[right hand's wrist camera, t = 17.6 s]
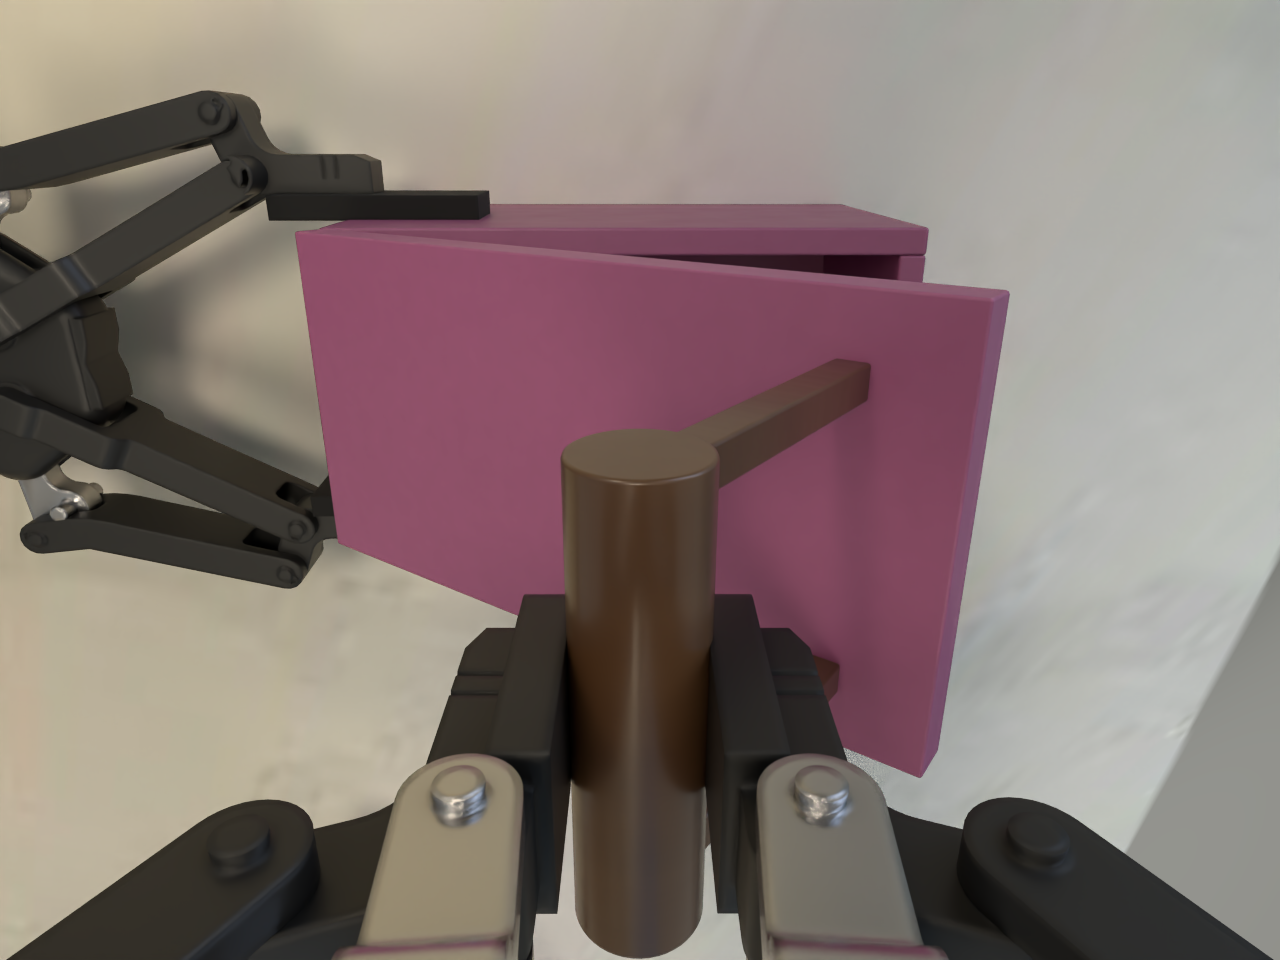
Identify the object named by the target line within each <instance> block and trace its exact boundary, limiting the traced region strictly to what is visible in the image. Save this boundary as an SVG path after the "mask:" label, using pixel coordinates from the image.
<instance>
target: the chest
mask: <svg viewBox="0 0 1280 960" xmlns="http://www.w3.org/2000/svg"><path fill="white" fill-rule="evenodd" d="M320 229H335V230H346V231H357V232H368V233H379V234H390V235H401V236H412V237H423V238H435V239H446V240H457V241H468V242H479V243H490V244H501V245H512V246H523V247H534V248H545V249H556V250H567V251H578V252H589V253H600V254H611V255H622V256H634V257H645V258H656V259H667V260H678V261H689V262H700V263H711V264H722V265H733V266H744V267H755V268H766V269H777V270H788V271H799V272H810V273H821V274H833V275H844V276H855V277H866V278H877V279H888V280H899V281H910V282H921V283H922V281H923V273H924V264H925V256H924V254H925V253H926V248H927V240H928V232H929V230H928V228H926V227H923V226H919V225H915V224H912V223H908V222H904V221H900V220H897V219H893V218H889V217H885V216H882V215H878V214H874V213H871V212H867V211H863V210H859V209H856V208H852V207H848V206H845V205H841V204H490V214H488V215H487V216H485V217H483V218H481V219H480V220H346V221H343V222H339V223H336V224H333V225H329V226H326V227H322V228H320Z"/></svg>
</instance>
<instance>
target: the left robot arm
mask: <svg viewBox="0 0 1280 960" xmlns="http://www.w3.org/2000/svg"><path fill="white" fill-rule="evenodd" d="M260 121H261V114H260V109H259V108H258V106H257V104H256V103H255V102H254V101H253V100H252V99H251V98H250V97H247V96H244V95H241V94H233V93H225V92H217V91H200V92H196V93H192V94H189V95H185V96H182V97H178V98H175V99H171V100H168V101H164V102H161V103H157V104H153V105H150V106H146V107H143V108H139V109H136V110H132V111H129V112H125V113H121V114H118V115H114V116H111V117H107V118H104V119H100V120H97V121H93V122H90V123H86V124H82V125H79V126H75V127H72V128H68V129H65V130H61V131H58V132H54V133H50V134H47V135H43V136H40V137H36V138H33V139H29V140H26V141H22V142H19V143H15V144H11V145H8V146H4V147H3V146H0V222H1V220H2V219H3V218H4V217H5V216H7V215H8V214H13V213H18V212H21V211H22V210H24V208H25V207H26V205H27V202H28V201H29V200H30V199H31V194H32V193H31V191H30V189H35V188H46V187H57V186H62V185H66V184H71V183H74V182H78V181H82V180H85V179H89V178H92V177H96V176H100V175H103V174H107V173H110V172H114V171H118V170H121V169H125V168H128V167H132V166H136V165H139V164H143V163H147V162H150V161H154V160H157V159H161V158H165V157H168V156H172V155H175V154H179V153H183V152H186V151H190V150H193V149H197V148H201V147H204V146H208V145H211V144H212V145H213V147H214V149H215V151H216V153H217V155H218V157H219V159H220V161H221V163H220V164H218V165H216V166H215V167H213V168H211V169H210V170H208V171H207V172H205V173H203V174H202V175H200V176H198V177H197V178H195V179H193V180H192V181H190V182H189V183H187V184H185V185H184V186H182V187H180V188H179V189H177V190H175V191H174V192H172V193H171V194H169V195H167V196H166V197H164V198H162V199H161V200H159V201H158V202H156V203H154V204H153V205H151V206H149V207H148V208H146V209H144V210H143V211H141V212H140V213H138V214H136V215H135V216H133V217H131V218H130V219H128V220H126V221H125V222H123V223H122V224H120V225H118V226H117V227H115V228H113V229H112V230H110V231H108V232H107V233H105V234H104V235H102V236H100V237H99V238H97V239H95V240H94V241H92V242H90V243H89V244H87V245H86V246H84V247H82V248H81V249H79V250H77V251H76V252H74V253H72V254H70V255H68V256H66V257H63V258H61V259H58V260H56V261H54V262H52V263H50V262H48V261H47V260H45V259H44V258H42V257H40V256H39V255H37V254H35V253H34V252H32V251H31V250H29V249H27V248H26V247H24V246H22V245H21V244H19V243H18V242H16V241H14V240H13V239H11V238H9V237H8V236H6V235H4V234H2V233H0V474H1V475H3V476H5V477H7V478H11V479H15V480H18V481H19V483H20V486H21V488H22V491H23V494H24V496H25V499H26V501H27V504H28V506H29V509H30V511H31V514H32V517H33V520H32V521H31V522H29V523H28V524H26V525H25V526H24V527H23V528H22V529H21V532H20V538H21V541H22V543H23V544H24V546H25V547H27V548H28V549H29V550H30V551H33V552H35V553H43V554H44V553H54V552H64V551H74V550H83V549H93V550H98V551H103V552H108V553H113V554H118V555H122V556H127V557H132V558H137V559H142V560H147V561H152V562H157V563H162V564H167V565H172V566H177V567H182V568H187V569H192V570H196V571H201V572H206V573H211V574H216V575H221V576H226V577H231V578H236V579H241V580H246V581H251V582H256V583H261V584H266V585H270V586H275V587H280V588H289V589H291V588H294V587H297V586H298V585H299V584H300V583H301V582H302V581H303V579H304V578H305V576H306V575H307V573H308V572H309V571H310V569H311V568H312V566H313V565H314V563H315V562H316V561H317V559H318V558H319V556H320V555H321V554H322V551H323V540H325V539H330V538H337V531H336V523H335V516H334V509H333V502H332V495H331V488H330V480H329V475H328V477H327V478H326V479H325V480H324V481H323V482H322V484H321V485H320V486H319V487H317V486H314V485H312V484H310V483H308V482H305V481H303V480H301V479H299V478H296V477H294V476H292V475H290V474H288V473H285V472H283V471H281V470H279V469H276V468H274V467H272V466H270V465H267V464H265V463H263V462H261V461H258V460H256V459H254V458H252V457H250V456H247V455H245V454H243V453H241V452H238V451H236V450H234V449H232V448H229V447H227V446H225V445H223V444H220V443H218V442H216V441H214V440H212V439H209V438H207V437H205V436H203V435H200V434H198V433H196V432H194V431H191V430H189V429H187V428H185V427H182V426H180V425H178V424H176V423H173V422H171V421H169V420H167V419H166V418H165V417H164V415H163V412H162V411H161V410H159V409H157V408H155V407H153V406H151V405H149V404H147V403H144V402H142V401H140V400H138V399H135V398H133V397H131V396H130V395H132V394H133V391H132V386H131V381H130V377H129V373H128V371H127V369H126V367H125V365H124V363H123V361H122V359H121V357H120V355H119V353H118V339H119V327H118V322H117V318H116V313H115V309H114V308H107V307H106V305H105V304H104V302H103V301H102V299H104V298H106V297H107V296H109V295H111V294H112V293H114V292H116V291H117V290H119V289H121V288H122V287H124V286H126V285H127V284H129V283H131V282H132V281H134V280H135V278H136V277H137V276H139V275H140V274H142V273H144V272H145V271H147V270H149V269H150V268H152V267H154V266H155V265H157V264H159V263H160V262H162V261H164V260H165V259H167V258H169V257H170V256H172V255H174V254H175V253H177V252H179V251H180V250H182V249H184V248H185V247H187V246H189V245H190V244H192V243H194V242H195V241H197V240H199V239H201V238H202V237H204V236H206V235H207V234H209V233H211V232H212V231H214V230H216V229H217V228H219V227H221V226H222V225H224V224H226V223H227V222H229V221H231V220H232V219H234V218H236V217H237V216H239V215H241V214H242V213H244V212H246V211H247V210H249V209H251V208H252V207H254V206H256V205H257V204H259V203H261V202H262V201H264V200H266V204H267V210H268V217H269V221H346V220H480V219H481V218H483V217H485V216H487V215H488V214H490V198H489V191H384V185H383V175H382V165H381V161H380V160H378V159H375V158H373V157H371V156H368V155H366V154H289V153H285V152H282V151H280V150H279V149H277V148H276V147H275V146H274V145H273V144H272V143H271V142H270V140H269V139H268V137H267V135H266V133H265V131H264V129H263V127H262V125H261V123H260ZM71 456H72V457H74V458H77V459H79V460H81V461H84V462H86V463H88V464H91V465H93V466H95V467H98V468H101V469H108V470H109V469H121V470H124V471H127V472H129V473H132V474H134V475H136V476H138V477H141V478H143V479H145V480H148V481H150V482H152V483H155V484H157V485H159V486H162V487H164V488H166V489H169V490H171V491H173V492H176V493H178V494H180V495H183V496H185V497H187V498H189V499H192V500H194V501H196V502H199V503H201V504H203V505H206V506H208V507H210V508H213V509H215V510H217V511H220V512H222V513H218V512H213V511H208V510H204V509H199V508H194V507H189V506H185V505H180V504H175V503H170V502H166V501H161V500H156V499H151V498H147V497H142V496H136V495H130V494H119V493H109V494H103V489H102V487H101V486H100V485H99V484H97V483H90V484H88V483H84V482H78V481H74V480H71V479H70V478H68V477H67V476H66V475H65V474H64V473H63V472H62V470H61V468H60V465H61V464H63V463H64V462H65V461H66V460H68V459H69V458H70V457H71ZM223 513H224V514H223Z"/></svg>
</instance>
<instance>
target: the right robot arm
mask: <svg viewBox="0 0 1280 960" xmlns="http://www.w3.org/2000/svg"><path fill="white" fill-rule="evenodd" d="M570 787H571V756H570V727H569V699H568V670H567V642H566V613H565V594H524V596H523V599H522V603H521V607H520V611H519V614H518V618H517V622H516V626H515V628H486V629H485V630H484V631H483V632H482V633H481V634H480V635H479V636H478V637H477V638H476V639H474V640H473V641H472V642H471V643H470V644H469V645H468V646H467V647H466V648H465V651H464V654H463V657H462V660H461V662H460V665H459V668H458V674H457V676H456V677H455V680H454V683H453V686H452V689H451V695H449V698H448V701H447V704H446V707H445V710H444V713H443V716H442V719H441V722H440V724H439V727H438V730H437V733H436V736H435V739H434V742H433V745H432V748H431V751H430V754H429V757H428V760H427V763H426V765H425V766H423V767H421V768H420V769H418V770H417V771H415V772H414V773H413V774H412V775H411V776H409V777H408V779H407V780H406V781H405V782H404V783H403V784H402V786H401V787H400V789H399V790H398V793H397V795H396V798H395V801H394V803H392V804H391V805H389V806H387V807H385V808H383V809H381V810H380V811H377V812H375V813H372V814H370V815H367V816H364V817H360V818H357V819H354V820H349V821H345V822H341V823H337V824H333V825H329V826H325V827H321V828H316V829H313V823H312V821H311V819H310V817H309V815H308V814H307V813H306V812H305V811H304V810H303V809H301V808H300V807H298V806H297V805H294V804H292V803H289V802H285V801H280V800H255V801H250V802H244V803H241V804H237V805H234V806H231V807H228V808H226V809H223V810H221V811H219V812H217V813H215V814H213V815H211V816H209V817H207V818H206V819H204V820H202V821H201V822H199V823H198V824H196V825H195V826H193V827H192V828H191V829H189V830H188V831H186V832H185V833H184V834H182V835H181V836H179V837H178V838H177V839H175V840H174V841H172V842H171V843H170V844H168V845H167V846H165V847H164V848H163V849H161V850H160V851H158V852H157V853H156V854H154V855H153V856H151V857H150V858H149V859H147V860H146V861H144V862H143V863H142V864H140V865H139V866H137V867H136V868H135V869H133V870H132V871H130V872H129V873H128V874H126V875H125V876H123V877H122V878H121V879H119V880H118V881H116V882H115V883H114V884H112V885H111V886H109V887H108V888H106V889H105V890H104V891H102V892H101V893H99V894H98V895H97V896H95V897H94V898H92V899H91V900H90V901H88V902H87V903H85V904H84V905H83V906H81V907H80V908H78V909H77V910H76V911H74V912H73V913H71V914H70V915H69V916H67V917H66V918H64V919H63V920H62V921H60V922H59V923H57V924H56V925H55V926H53V927H52V928H50V929H49V930H48V931H46V932H45V933H43V934H42V935H41V936H39V937H38V938H36V939H35V940H34V941H32V942H31V943H29V944H28V945H27V946H25V947H24V948H22V949H21V950H20V951H18V952H17V953H15V954H14V955H12V956H11V957H10V958H8V959H7V960H534V951H533V933H534V925H535V918H536V914H557V911H558V901H559V892H560V882H561V873H562V863H563V854H564V844H565V835H566V825H567V816H568V806H569V797H570ZM705 791H706V801H707V811H708V821H709V831H710V842H711V852H712V862H713V872H714V882H715V893H716V903H717V913H738V914H739V922H740V930H741V938H742V944H743V949H744V952H745V954H746V960H1273V959H1272V958H1270V957H1269V956H1267V955H1266V954H1265V953H1263V952H1262V951H1260V950H1259V949H1258V948H1256V947H1255V946H1253V945H1252V944H1251V943H1249V942H1248V941H1246V940H1245V939H1244V938H1242V937H1241V936H1239V935H1238V934H1237V933H1235V932H1234V931H1232V930H1231V929H1230V928H1228V927H1227V926H1225V925H1224V924H1223V923H1221V922H1220V921H1218V920H1217V919H1216V918H1214V917H1213V916H1211V915H1210V914H1209V913H1207V912H1206V911H1204V910H1203V909H1201V908H1200V907H1199V906H1197V905H1196V904H1195V903H1193V902H1192V901H1190V900H1189V899H1188V898H1186V897H1185V896H1183V895H1182V894H1180V893H1179V892H1178V891H1176V890H1175V889H1173V888H1172V887H1171V886H1169V885H1168V884H1166V883H1165V882H1164V881H1162V880H1161V879H1159V878H1158V877H1157V876H1155V875H1154V874H1152V873H1151V872H1150V871H1148V870H1147V869H1145V868H1144V867H1143V866H1141V865H1140V864H1138V863H1137V862H1136V861H1134V860H1133V859H1131V858H1130V857H1129V856H1127V855H1126V854H1124V853H1123V852H1122V851H1120V850H1119V849H1117V848H1116V847H1115V846H1113V845H1112V844H1110V843H1109V842H1108V841H1106V840H1105V839H1103V838H1102V837H1101V836H1099V835H1098V834H1096V833H1095V832H1094V831H1092V830H1091V829H1089V828H1088V827H1086V826H1085V825H1084V824H1082V823H1081V822H1079V821H1078V820H1076V819H1075V818H1073V817H1072V816H1070V815H1069V814H1067V813H1065V812H1063V811H1061V810H1059V809H1057V808H1054V807H1052V806H1049V805H1047V804H1044V803H1040V802H1037V801H1033V800H1028V799H1023V798H1011V797H1007V798H996V799H991V800H987V801H985V802H982V803H980V804H978V805H977V806H975V807H974V808H973V809H972V810H971V811H970V812H969V813H968V815H967V817H966V819H965V821H964V827H963V829H959V828H955V827H950V826H946V825H942V824H938V823H934V822H930V821H926V820H922V819H918V818H915V817H911V816H908V815H905V814H903V813H900V812H898V811H895V810H893V809H891V808H889V807H887V804H886V800H885V797H884V795H883V792H882V790H881V789H880V787H879V786H878V784H877V783H876V782H875V781H874V780H873V778H872V777H871V776H870V775H868V774H867V773H866V772H865V771H863V770H862V769H860V768H859V767H857V766H855V765H854V764H851V763H849V762H848V761H847V758H846V755H845V752H844V749H843V746H842V743H841V740H840V737H839V734H838V731H837V728H836V725H835V722H834V719H833V716H832V713H831V710H830V706H829V703H828V700H827V697H826V695H824V688H823V685H822V682H821V679H820V676H818V670H817V667H816V664H815V661H814V658H813V655H812V652H811V649H810V647H809V646H808V645H807V644H806V643H804V642H803V641H802V640H801V639H800V638H799V637H798V636H797V635H796V634H795V633H794V632H793V631H792V630H791V629H790V628H760V624H759V620H758V616H757V612H756V608H755V604H754V600H753V596H752V594H715V603H714V629H713V640H712V643H711V645H710V662H709V691H708V719H707V748H706V776H705Z"/></svg>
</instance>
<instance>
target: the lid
mask: <svg viewBox="0 0 1280 960" xmlns="http://www.w3.org/2000/svg"><path fill="white" fill-rule="evenodd" d="M295 236H296V243H297V250H298V258H299V265H300V272H301V279H302V286H303V294H304V301H305V308H306V315H307V322H308V329H309V337H310V344H311V351H312V358H313V365H314V373H315V380H316V387H317V394H318V401H319V408H320V416H321V423H322V430H323V437H324V444H325V452H326V459H327V466H328V473H329V480H330V488H331V495H332V502H333V509H334V516H335V523H336V531H337V538H338V543H339V544H342V545H344V546H347V547H349V548H352V549H354V550H357V551H359V552H362V553H364V554H367V555H369V556H372V557H374V558H377V559H379V560H381V561H384V562H386V563H389V564H391V565H394V566H396V567H399V568H401V569H404V570H406V571H409V572H411V573H414V574H416V575H419V576H421V577H424V578H426V579H428V580H431V581H433V582H436V583H438V584H441V585H443V586H446V587H448V588H451V589H453V590H456V591H458V592H461V593H463V594H466V595H468V596H471V597H473V598H475V599H478V600H480V601H483V602H485V603H488V604H490V605H493V606H495V607H498V608H500V609H503V610H505V611H508V612H510V613H513V614H515V615H518V614H519V611H520V607H521V603H522V599H523V596H524V594H565V613H566V642H567V670H568V699H569V727H570V756H571V792H572V822H573V852H574V882H575V910H576V915H577V919H578V921H579V924H580V926H581V927H582V929H583V931H584V932H585V933H586V935H587V936H588V937H589V938H590V939H591V940H592V941H593V942H594V943H595V944H596V945H598V946H599V947H600V948H602V949H604V950H606V951H607V952H610V953H612V954H615V955H618V956H622V957H627V958H639V959H642V958H651V957H656V956H660V955H663V954H666V953H668V952H670V951H672V950H674V949H676V948H677V947H679V946H681V945H682V944H683V943H684V942H685V941H687V939H688V938H689V937H690V936H691V935H692V934H693V932H694V931H695V929H696V928H697V926H698V924H699V921H700V919H701V915H702V909H703V887H704V861H705V849H706V848H707V846H708V845H709V844H710V843H711V842H710V831H709V821H708V811H707V801H706V791H705V776H706V748H707V719H708V691H709V662H710V645H711V643H712V640H713V629H714V603H715V594H752V596H753V600H754V604H755V608H756V612H757V616H758V620H759V624H760V628H790V629H791V630H792V631H793V632H794V633H795V634H796V635H797V636H798V637H799V638H800V639H801V640H802V641H803V642H804V643H806V644H807V645H808V646H809V647H810V649H811V652H812V655H813V658H814V661H815V664H816V667H817V670H818V676H820V679H821V682H822V685H823V688H824V695H826V697H827V700H828V703H829V706H830V710H831V713H832V716H833V719H834V722H835V725H836V728H837V731H838V734H839V737H840V740H841V743H842V746H843V747H844V748H847V749H849V750H852V751H854V752H856V753H859V754H861V755H864V756H866V757H869V758H871V759H874V760H876V761H879V762H881V763H884V764H886V765H889V766H891V767H894V768H896V769H899V770H901V771H904V772H906V773H908V774H911V775H913V776H916V777H918V778H921V777H922V776H923V774H924V772H925V771H926V769H927V767H928V766H929V764H930V762H931V761H932V759H933V757H934V755H935V754H936V752H937V750H938V745H939V739H940V733H941V726H942V720H943V714H944V707H945V701H946V695H947V688H948V682H949V676H950V669H951V663H952V657H953V650H954V644H955V638H956V631H957V625H958V619H959V612H960V606H961V600H962V593H963V587H964V581H965V574H966V568H967V562H968V555H969V549H970V543H971V536H972V530H973V524H974V517H975V511H976V505H977V498H978V492H979V486H980V479H981V473H982V467H983V460H984V454H985V448H986V441H987V435H988V429H989V422H990V416H991V410H992V403H993V397H994V390H995V384H996V378H997V371H998V365H999V359H1000V352H1001V346H1002V340H1003V333H1004V327H1005V321H1006V314H1007V308H1008V302H1009V295H1010V294H1009V291H1007V290H998V289H987V288H976V287H965V286H954V285H943V284H932V283H921V282H910V281H899V280H888V279H877V278H866V277H855V276H844V275H833V274H821V273H810V272H799V271H788V270H777V269H766V268H755V267H744V266H733V265H722V264H711V263H700V262H689V261H678V260H667V259H656V258H645V257H634V256H622V255H611V254H600V253H589V252H578V251H567V250H556V249H545V248H534V247H523V246H512V245H501V244H490V243H479V242H468V241H457V240H446V239H435V238H423V237H412V236H401V235H390V234H379V233H368V232H357V231H346V230H335V229H319V230H307V231H297V232H295Z"/></svg>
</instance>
